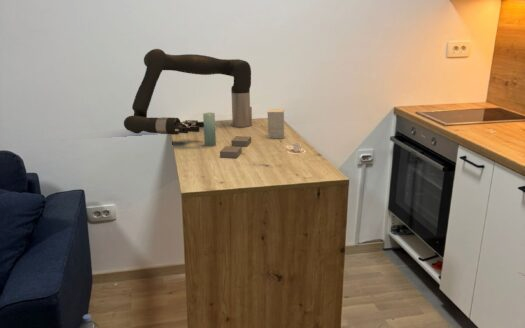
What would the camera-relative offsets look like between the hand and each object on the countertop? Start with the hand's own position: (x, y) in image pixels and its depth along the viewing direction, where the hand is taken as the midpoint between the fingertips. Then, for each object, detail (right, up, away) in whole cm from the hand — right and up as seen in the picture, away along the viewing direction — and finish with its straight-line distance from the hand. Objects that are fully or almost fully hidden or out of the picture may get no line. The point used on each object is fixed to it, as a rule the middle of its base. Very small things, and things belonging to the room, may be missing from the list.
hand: (202, 127), depth 214 cm
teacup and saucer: (+41, -11, -7) cm, 43 cm away
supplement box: (+33, -4, +14) cm, 36 cm away
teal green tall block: (+3, -8, +2) cm, 9 cm away
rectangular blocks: (+15, -10, -6) cm, 19 cm away
